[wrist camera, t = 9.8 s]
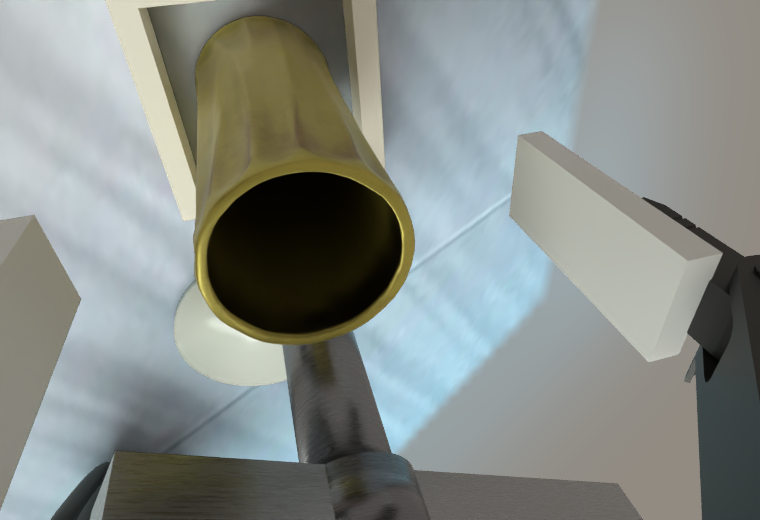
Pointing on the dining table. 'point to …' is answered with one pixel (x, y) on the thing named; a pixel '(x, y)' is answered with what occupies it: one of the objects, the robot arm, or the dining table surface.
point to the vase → (289, 193)
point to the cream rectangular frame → (162, 111)
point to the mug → (83, 496)
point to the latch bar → (338, 491)
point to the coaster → (223, 346)
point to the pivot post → (332, 401)
